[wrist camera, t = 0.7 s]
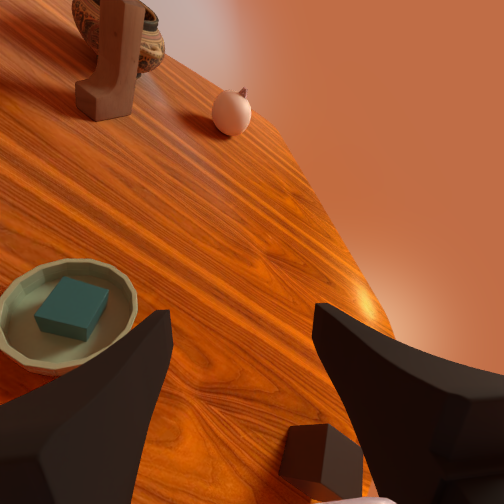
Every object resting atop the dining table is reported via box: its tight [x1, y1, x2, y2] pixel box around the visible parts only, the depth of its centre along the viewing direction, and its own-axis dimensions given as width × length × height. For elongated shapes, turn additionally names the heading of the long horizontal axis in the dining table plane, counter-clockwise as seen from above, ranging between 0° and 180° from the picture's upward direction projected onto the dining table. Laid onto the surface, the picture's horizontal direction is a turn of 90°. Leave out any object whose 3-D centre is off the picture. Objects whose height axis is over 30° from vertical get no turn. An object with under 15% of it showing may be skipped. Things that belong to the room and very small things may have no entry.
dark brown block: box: [279, 424, 363, 502], centre depth 26 cm, size 5×5×7 cm
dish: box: [0, 259, 138, 376], centre depth 24 cm, size 11×11×4 cm
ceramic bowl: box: [72, 0, 165, 79], centre depth 53 cm, size 24×18×15 cm
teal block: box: [34, 276, 109, 342], centre depth 23 cm, size 4×4×4 cm
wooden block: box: [75, 0, 145, 121], centre depth 40 cm, size 9×4×18 cm, turn 155°
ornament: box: [212, 87, 251, 136], centre depth 62 cm, size 10×10×12 cm
